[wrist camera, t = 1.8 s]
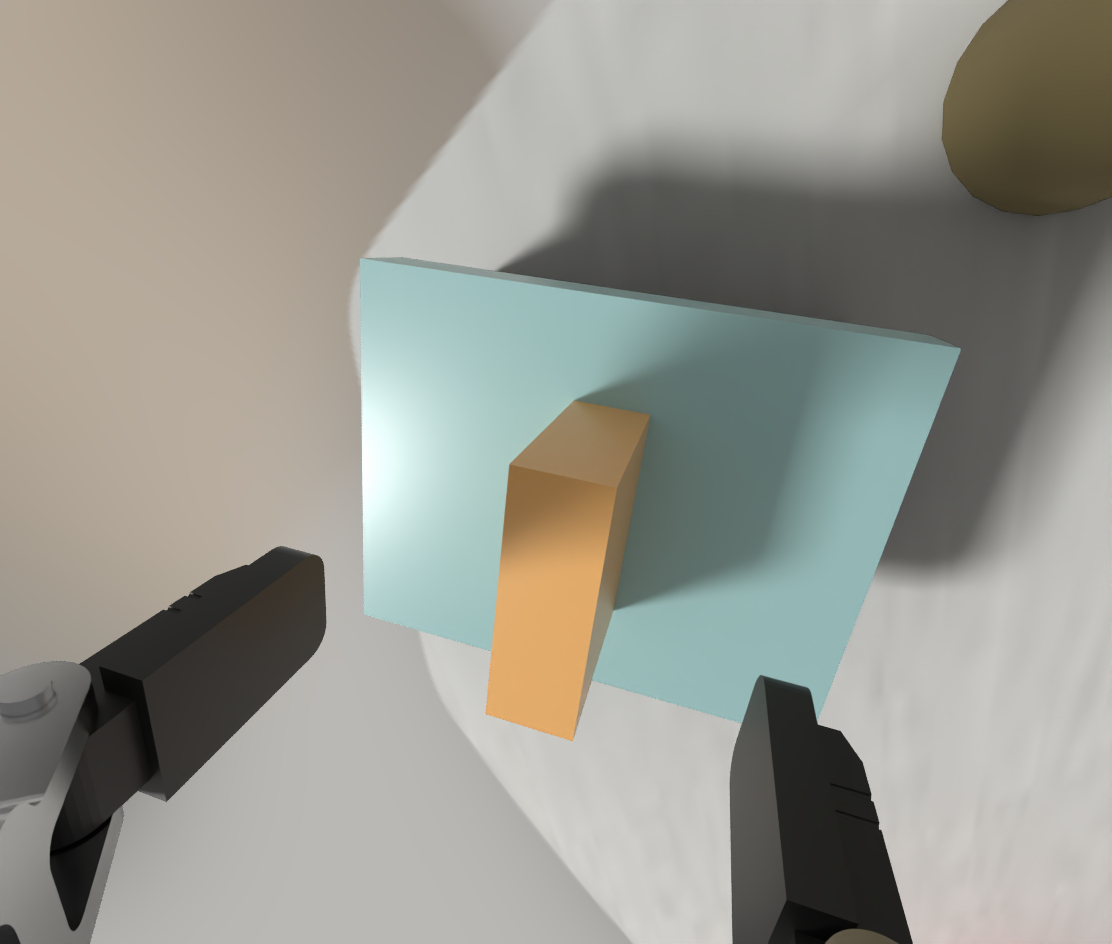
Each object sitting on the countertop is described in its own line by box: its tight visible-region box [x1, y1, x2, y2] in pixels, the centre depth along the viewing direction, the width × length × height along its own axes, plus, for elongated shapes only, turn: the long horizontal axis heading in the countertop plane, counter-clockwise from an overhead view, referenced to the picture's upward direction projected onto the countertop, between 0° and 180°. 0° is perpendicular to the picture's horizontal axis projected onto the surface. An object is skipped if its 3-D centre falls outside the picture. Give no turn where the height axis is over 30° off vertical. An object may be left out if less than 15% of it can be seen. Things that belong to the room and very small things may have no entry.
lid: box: [360, 257, 962, 741], centre depth 15 cm, size 14×11×7 cm
